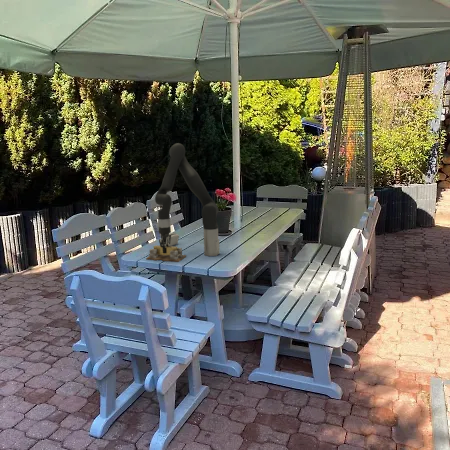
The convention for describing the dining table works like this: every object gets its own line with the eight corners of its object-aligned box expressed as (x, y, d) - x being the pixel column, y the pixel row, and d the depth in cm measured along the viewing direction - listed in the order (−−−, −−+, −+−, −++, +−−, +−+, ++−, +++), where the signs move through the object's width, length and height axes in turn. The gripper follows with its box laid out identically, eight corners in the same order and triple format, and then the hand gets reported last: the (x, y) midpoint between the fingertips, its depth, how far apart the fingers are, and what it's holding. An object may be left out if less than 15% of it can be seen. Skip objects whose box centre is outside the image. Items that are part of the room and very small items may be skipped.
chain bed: (186, 256, 291) (185, 247, 289) (178, 262, 279) (178, 252, 278) (154, 254, 297) (154, 245, 296) (146, 259, 286) (145, 250, 285)
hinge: (172, 242, 327) (175, 230, 324) (177, 245, 325) (180, 233, 322) (157, 248, 313) (161, 235, 309) (163, 251, 311) (166, 238, 308)
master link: (154, 254, 289) (153, 246, 288) (156, 252, 292) (155, 245, 291) (175, 255, 284) (175, 247, 283) (177, 254, 287) (177, 246, 286)
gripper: (163, 223, 292) (165, 249, 295) (154, 227, 279) (155, 255, 282) (174, 223, 289) (175, 250, 293) (165, 228, 276) (166, 255, 280)
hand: (165, 252), depth 288 cm, fingers closed on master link, 3 cm apart
